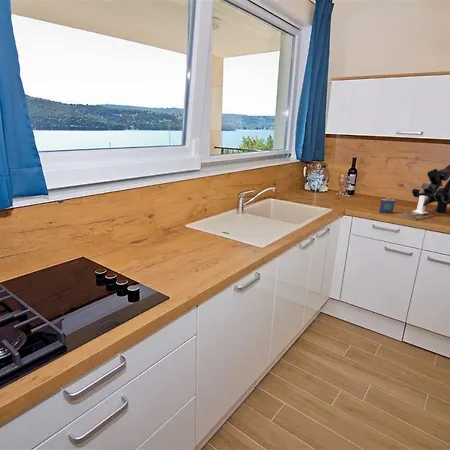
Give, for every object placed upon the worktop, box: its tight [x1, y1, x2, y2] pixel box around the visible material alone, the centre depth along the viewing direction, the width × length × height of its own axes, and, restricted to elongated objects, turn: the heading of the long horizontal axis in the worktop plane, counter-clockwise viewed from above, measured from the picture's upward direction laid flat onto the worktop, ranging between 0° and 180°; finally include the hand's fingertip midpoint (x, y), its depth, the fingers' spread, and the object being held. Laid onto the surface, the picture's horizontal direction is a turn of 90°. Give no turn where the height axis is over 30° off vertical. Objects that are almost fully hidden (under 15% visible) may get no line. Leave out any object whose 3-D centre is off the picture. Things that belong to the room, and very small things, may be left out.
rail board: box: [397, 210, 435, 221], centre depth 214 cm, size 20×12×3 cm, turn 121°
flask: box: [378, 196, 396, 215], centre depth 219 cm, size 9×3×11 cm, turn 95°
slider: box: [412, 195, 429, 214], centre depth 214 cm, size 6×6×11 cm
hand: (420, 205), depth 214 cm, fingers closed on slider, 3 cm apart
